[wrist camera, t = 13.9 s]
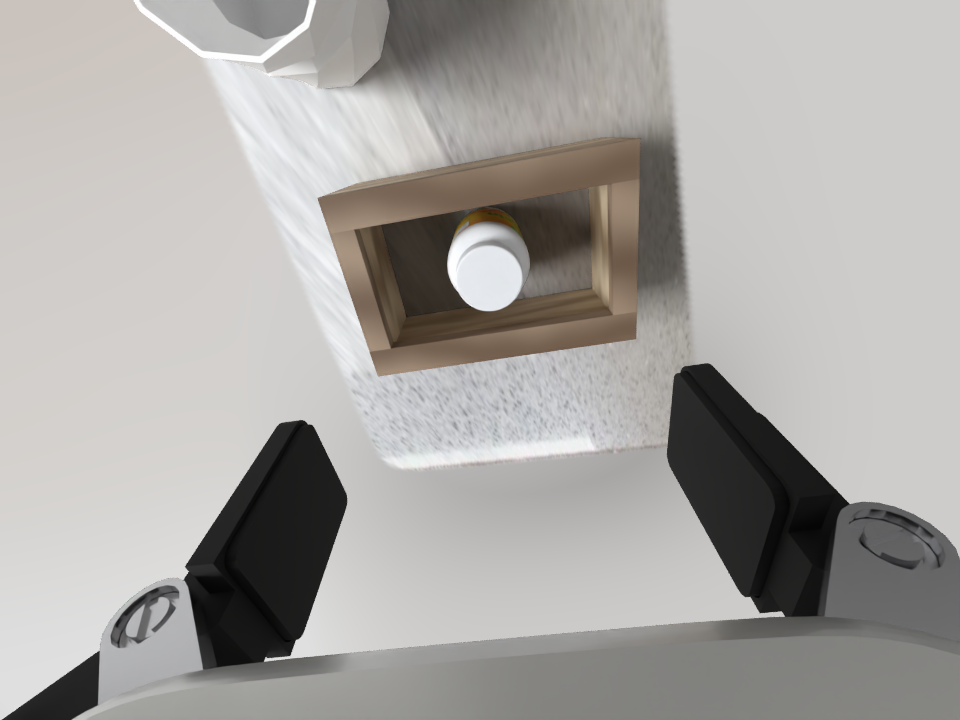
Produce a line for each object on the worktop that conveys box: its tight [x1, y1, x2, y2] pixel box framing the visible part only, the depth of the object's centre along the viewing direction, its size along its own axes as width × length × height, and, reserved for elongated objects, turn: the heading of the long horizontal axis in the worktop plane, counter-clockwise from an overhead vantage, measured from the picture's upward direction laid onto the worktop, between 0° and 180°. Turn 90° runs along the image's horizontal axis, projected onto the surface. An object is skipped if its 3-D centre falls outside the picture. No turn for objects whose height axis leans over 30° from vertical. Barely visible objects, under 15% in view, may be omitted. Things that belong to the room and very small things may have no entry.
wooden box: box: [318, 138, 640, 376], centre depth 29 cm, size 12×18×8 cm, turn 99°
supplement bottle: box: [447, 207, 530, 311], centre depth 28 cm, size 5×5×10 cm
